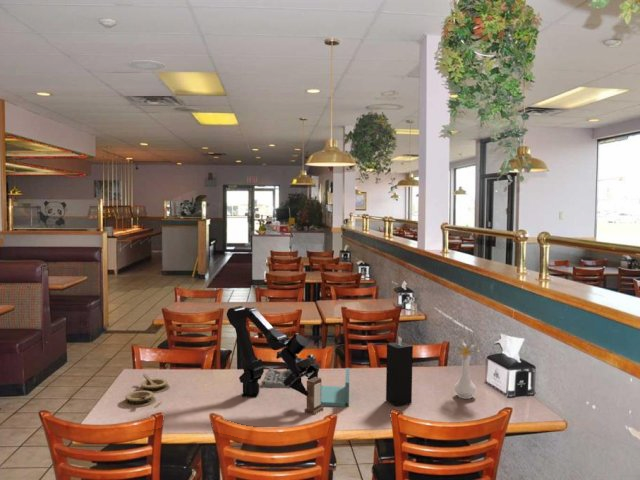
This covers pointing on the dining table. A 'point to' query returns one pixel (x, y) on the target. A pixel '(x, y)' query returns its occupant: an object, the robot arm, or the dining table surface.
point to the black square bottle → (399, 373)
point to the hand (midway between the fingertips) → (314, 392)
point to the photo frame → (314, 396)
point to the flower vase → (465, 367)
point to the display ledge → (336, 394)
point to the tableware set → (146, 393)
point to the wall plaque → (275, 378)
